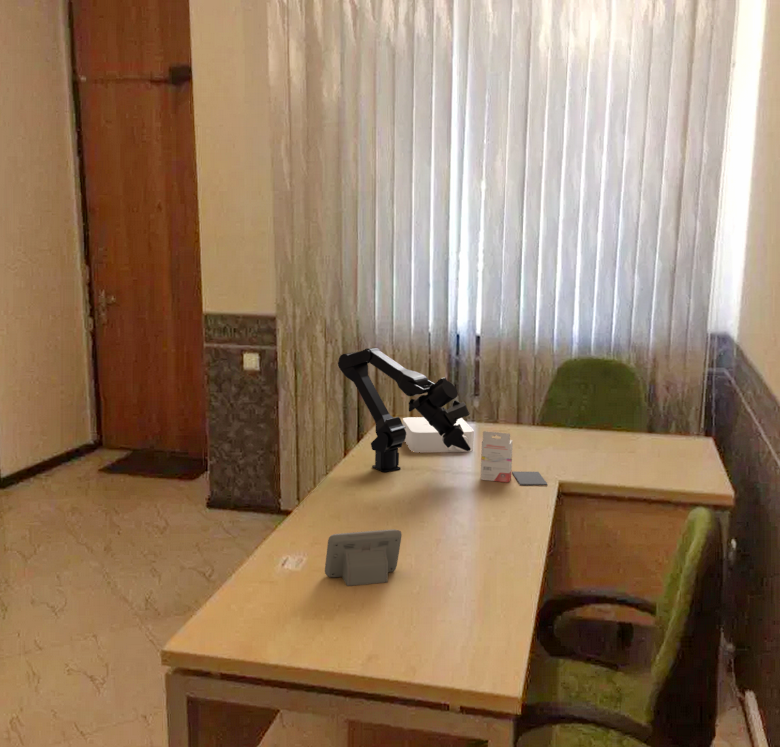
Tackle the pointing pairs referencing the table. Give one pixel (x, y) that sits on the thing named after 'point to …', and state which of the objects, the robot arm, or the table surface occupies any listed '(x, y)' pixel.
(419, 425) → the projector
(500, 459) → the ink cartridge box
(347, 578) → the digital clock
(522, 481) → the mat
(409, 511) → the table surface
